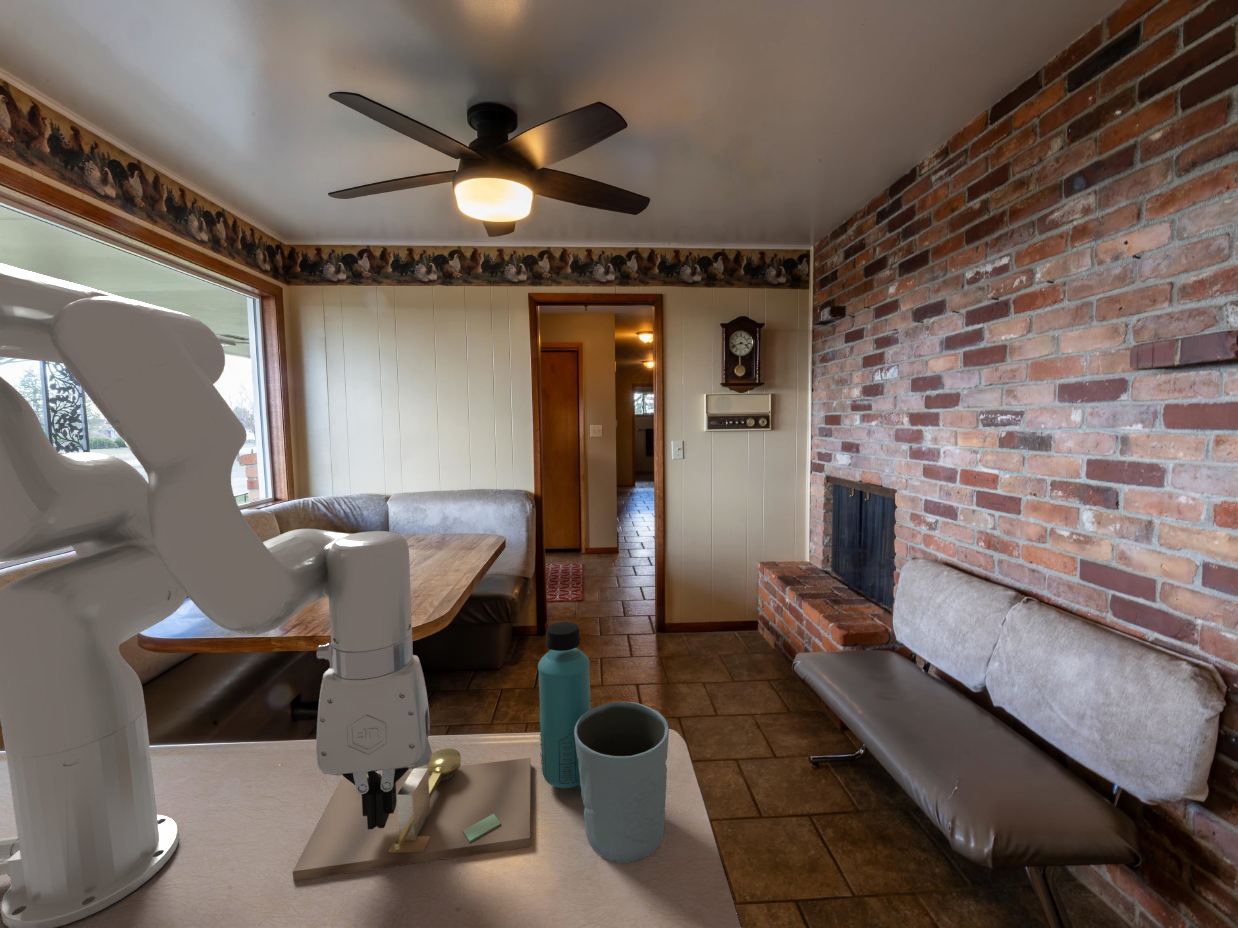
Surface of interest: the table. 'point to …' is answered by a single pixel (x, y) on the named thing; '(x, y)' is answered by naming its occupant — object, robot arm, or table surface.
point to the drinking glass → (623, 778)
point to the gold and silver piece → (422, 793)
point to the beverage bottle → (562, 703)
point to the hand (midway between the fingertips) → (380, 818)
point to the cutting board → (425, 823)
